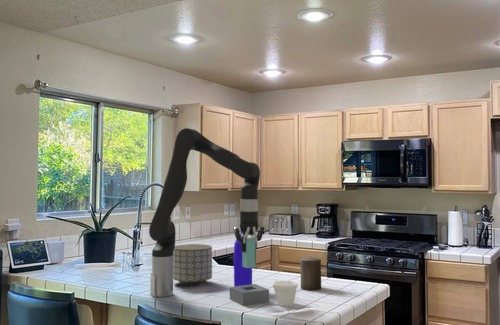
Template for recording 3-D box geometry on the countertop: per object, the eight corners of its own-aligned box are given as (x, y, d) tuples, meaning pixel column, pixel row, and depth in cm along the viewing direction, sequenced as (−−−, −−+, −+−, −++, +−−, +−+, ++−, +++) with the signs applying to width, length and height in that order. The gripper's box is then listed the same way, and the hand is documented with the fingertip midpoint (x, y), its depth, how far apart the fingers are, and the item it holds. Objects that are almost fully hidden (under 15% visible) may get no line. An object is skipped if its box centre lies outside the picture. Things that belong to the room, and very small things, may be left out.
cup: (269, 308, 187) (269, 284, 187) (277, 302, 196) (277, 279, 197) (294, 311, 184) (293, 286, 184) (300, 304, 193) (300, 281, 193)
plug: (246, 268, 194) (246, 238, 194) (242, 266, 197) (242, 237, 198) (255, 267, 196) (255, 237, 196) (250, 265, 199) (250, 236, 200)
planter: (191, 278, 246) (191, 243, 247) (219, 282, 235) (219, 245, 236) (164, 284, 231) (164, 247, 232) (193, 289, 220) (194, 250, 221)
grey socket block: (242, 308, 188) (242, 292, 188) (229, 301, 198) (229, 287, 199) (269, 304, 193) (269, 289, 194) (254, 298, 204) (254, 284, 204)
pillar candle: (324, 290, 218) (323, 257, 219) (303, 291, 217) (303, 257, 218) (317, 285, 228) (317, 254, 229) (297, 286, 226) (297, 254, 227)
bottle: (234, 289, 220) (234, 224, 221) (252, 289, 220) (252, 224, 221) (233, 293, 212) (233, 226, 213) (252, 293, 212) (251, 226, 213)
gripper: (237, 211, 191) (237, 254, 190) (268, 210, 197) (268, 251, 197) (229, 210, 197) (229, 251, 197) (259, 209, 204) (259, 249, 203)
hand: (248, 251), depth 197 cm, fingers closed on plug, 4 cm apart
